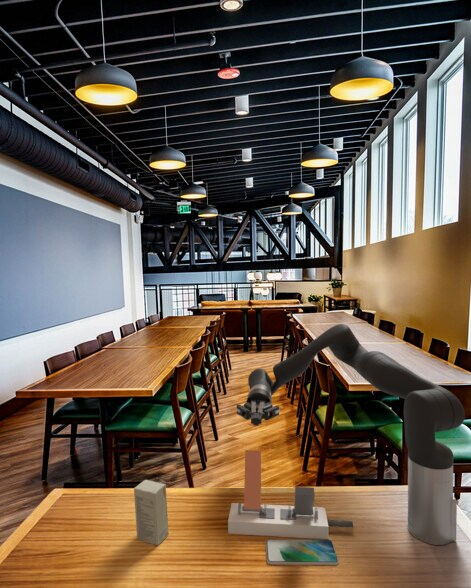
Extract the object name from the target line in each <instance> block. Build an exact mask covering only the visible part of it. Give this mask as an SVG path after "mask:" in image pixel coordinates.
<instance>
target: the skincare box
mask: <svg viewBox="0 0 471 588" xmlns="http://www.w3.org/2000/svg"><path fill="white" fill-rule="evenodd" d="M133 492H134V494H133V495H134V509H135V510H134V511H135V526H136V539H137V540H140V541H142V542H145V543H148V544H152V545H154V546H160V545H161V543H162V542H163V541H164V540H165V539H166V537H168V535H169V520H168V519H169V518H168V515H169V514H168V503H167V501H168V500H167V499H168V498H167V484H166V483H162V482H158V481H153V480H149V479H144V480H143V481H142V482H140V483H139V484H138V485H136V486H134V488H133Z"/></svg>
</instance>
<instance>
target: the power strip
mask: <svg viewBox="0 0 471 588" xmlns="http://www.w3.org/2000/svg"><path fill="white" fill-rule="evenodd" d="M242 506H244V503H242V502H237V503H236V502H231V505H230V510H229V515H228V520H227V533H228V535H229V534H233V535H244V536H245V535H249V536H264V537H265V536H267V537H283V538H285V537H286V538H296V539H297V538H298V539H324V540H330V538H329V537H330V536H329V535H330V534H329V532H330V531H329V527H331V528H332V527H333V528H336V527H337V528H349V529H351V528H354V521H353V520H347V519H346V520H344V519H343V520H342V519H328V517H327V511H326V508H325V507H322V506H321V507H320V506H313V515H312V516H309V515H295V514H293V508H294V505H289V504H288V505H283V504H282V505H278V504H267V503H264V504H262V503H261V507H263V511H262V512H247V511H242Z"/></svg>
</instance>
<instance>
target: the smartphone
mask: <svg viewBox="0 0 471 588" xmlns="http://www.w3.org/2000/svg"><path fill="white" fill-rule="evenodd" d="M265 552H266V554H265V555H266V563H267V564H268V565H277V566H278V565H280V566H282V565H284V566H286V565H289V566H291V565H293V566H301V565H302V566H338V565H339V563H340V562H339V558H338V555H337V552H336V549H335V546H334V542H333V541H332V539H314V538H298V539H297V538H293V539H292V538H290V539H289V538H288V539H287V538H286V539H285V538H282V539H281V538H268V539H266V540H265Z"/></svg>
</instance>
